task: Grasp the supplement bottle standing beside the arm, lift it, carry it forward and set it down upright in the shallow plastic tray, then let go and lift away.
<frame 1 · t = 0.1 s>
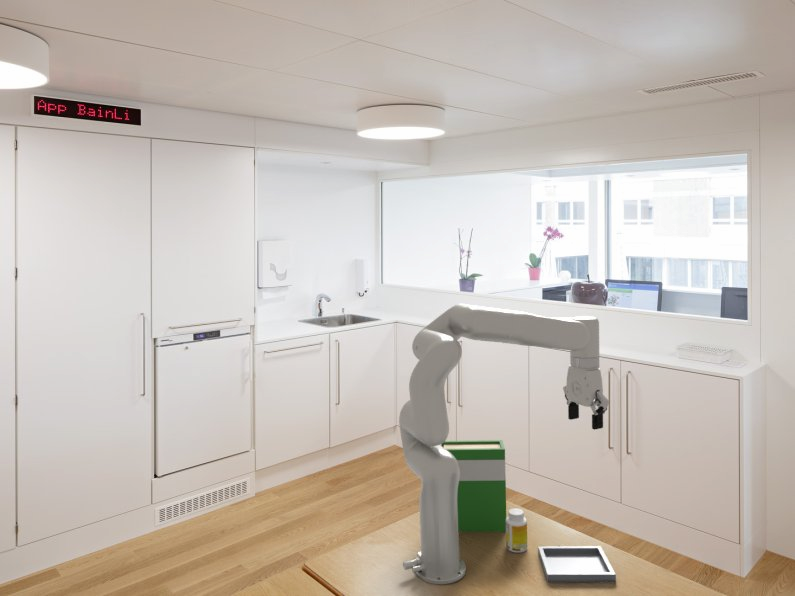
hand: (585, 423, 162), 31 cm above the table, tool pointing down, fingers open, 9 cm apart
tray: (575, 567, 148), on the table
hardback book: (474, 526, 171), on the table
supplement bottle: (516, 548, 158), on the table
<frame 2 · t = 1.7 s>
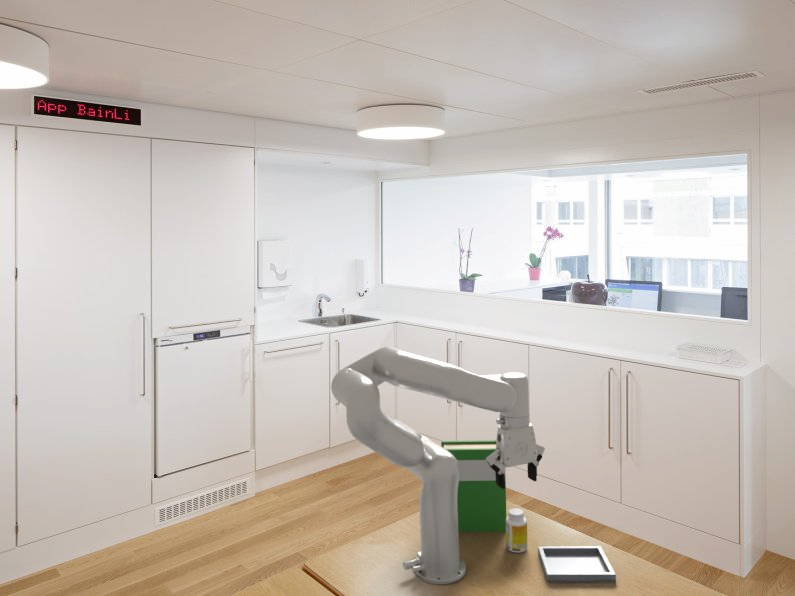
hand: (516, 483, 156), 18 cm above the table, tool pointing down, fingers open, 9 cm apart
nothing on the table moved.
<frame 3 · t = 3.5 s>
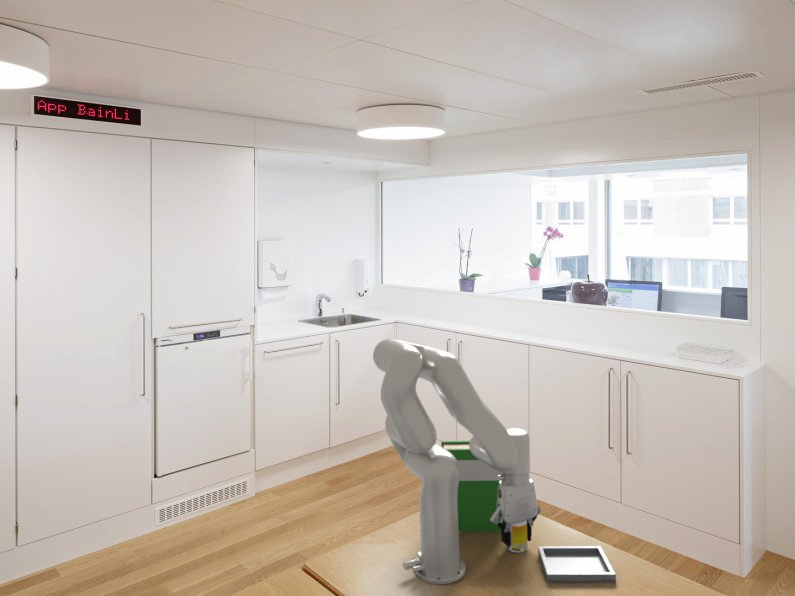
hand: (516, 540, 158), 2 cm above the table, tool pointing down, fingers closed on supplement bottle, 5 cm apart
supplement bottle: (516, 548, 158), on the table, touching gripper
everything else where it was.
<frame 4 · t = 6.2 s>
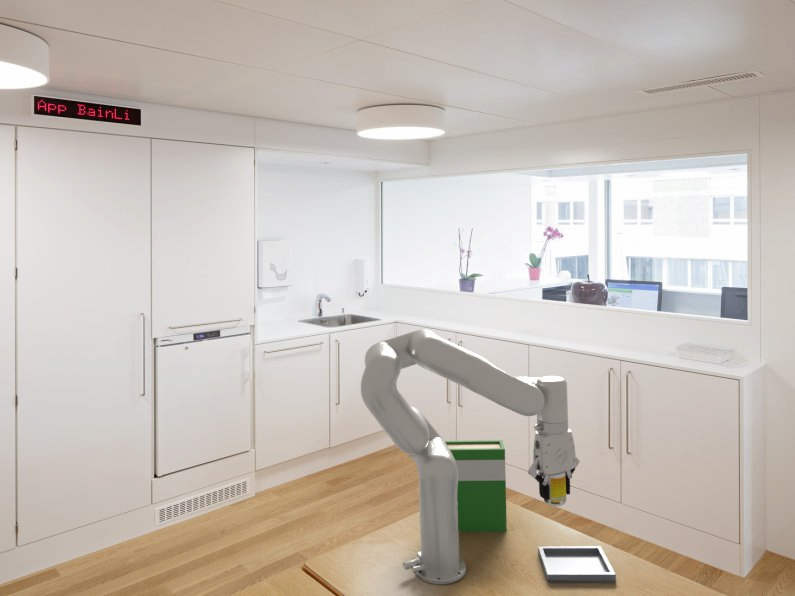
hand: (555, 494, 150), 17 cm above the table, tool pointing down, fingers closed on supplement bottle, 5 cm apart
supplement bottle: (555, 503, 150), point 15 cm above the table, touching gripper
everything else where it was.
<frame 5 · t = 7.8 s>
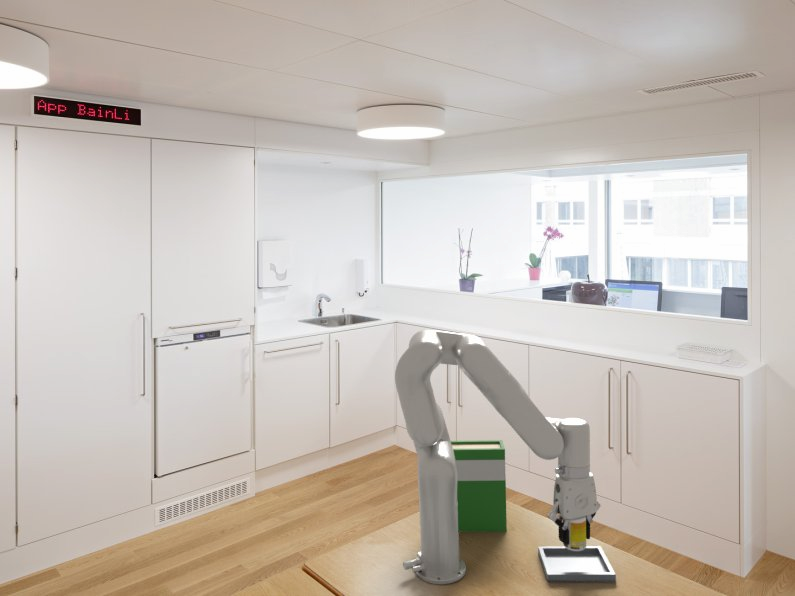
hand: (574, 538, 147), 7 cm above the table, tool pointing down, fingers closed on supplement bottle, 5 cm apart
supplement bottle: (574, 547, 147), point 5 cm above the table, touching gripper
everything else where it was.
when the fingers open (4 cm above the table, at t = 8.9 s): supplement bottle drops 1 cm, resting on tray.
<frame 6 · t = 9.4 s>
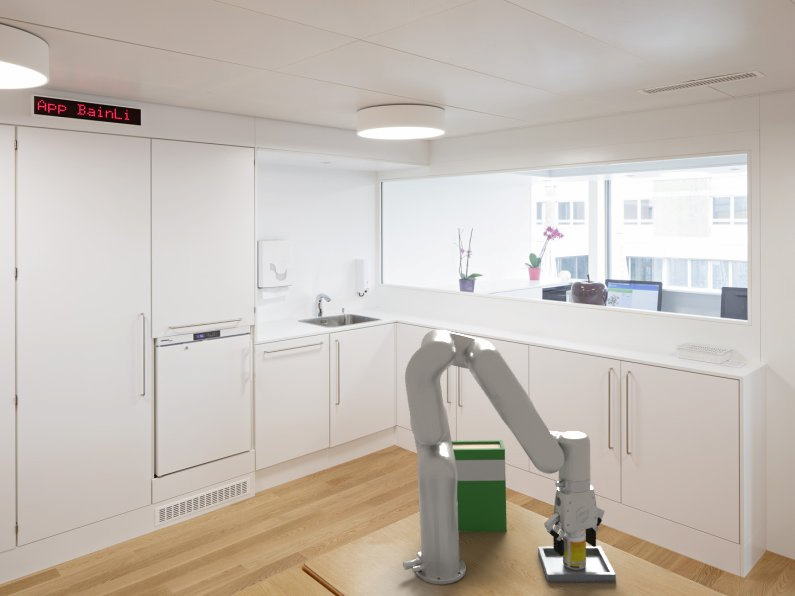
hand: (575, 548, 147), 5 cm above the table, tool pointing down, fingers open, 9 cm apart
supplement bottle: (574, 565, 148), resting on tray
everything else where it was.
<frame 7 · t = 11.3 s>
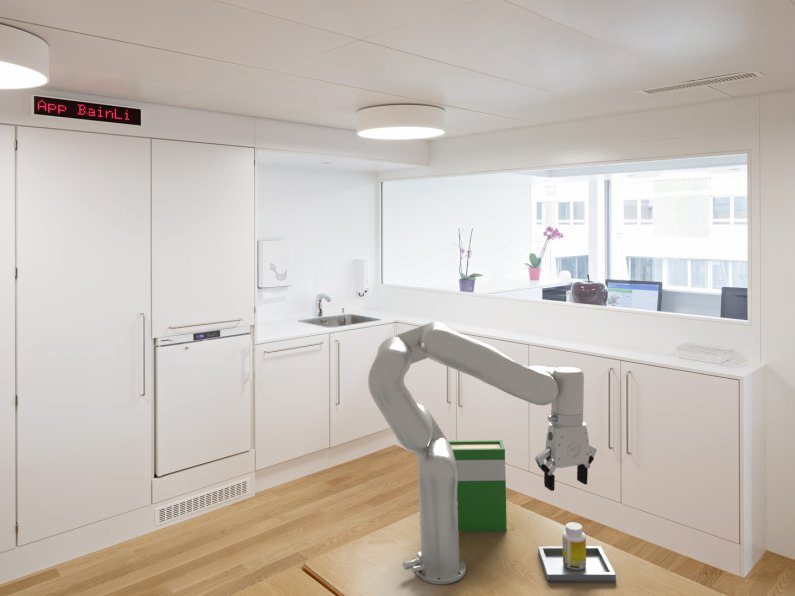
hand: (565, 485, 146), 21 cm above the table, tool pointing down, fingers open, 9 cm apart
nothing on the table moved.
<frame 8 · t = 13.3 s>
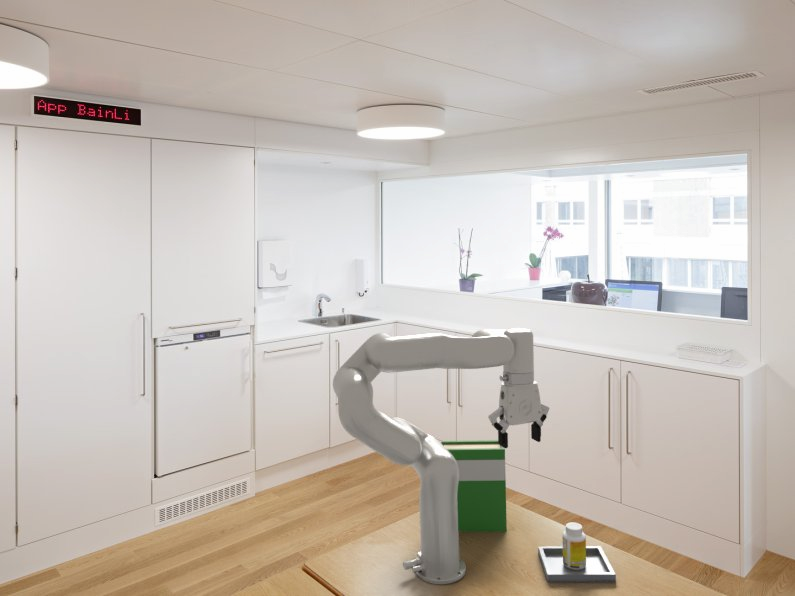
hand: (519, 443, 151), 30 cm above the table, tool pointing down, fingers open, 9 cm apart
nothing on the table moved.
at the end: supplement bottle inside the target area on the tray (0.2 cm from its centre), point 0.4 cm above the tray's base; supplement bottle tilted 0°; the gripper is holding nothing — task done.
